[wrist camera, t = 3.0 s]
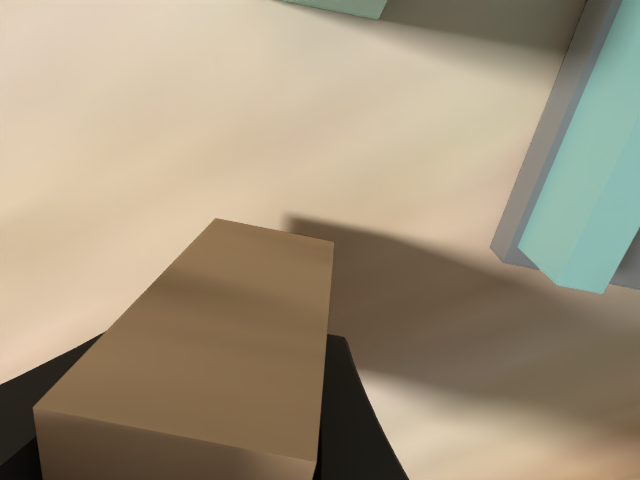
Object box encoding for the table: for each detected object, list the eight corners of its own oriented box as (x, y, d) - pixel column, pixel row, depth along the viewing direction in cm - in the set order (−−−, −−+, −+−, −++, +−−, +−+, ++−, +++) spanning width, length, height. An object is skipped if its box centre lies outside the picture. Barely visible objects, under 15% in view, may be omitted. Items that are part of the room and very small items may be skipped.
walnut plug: (301, 393, 11) (257, 682, 6) (202, 374, 11) (66, 647, 6) (334, 242, 10) (317, 461, 4) (215, 218, 10) (32, 407, 4)
